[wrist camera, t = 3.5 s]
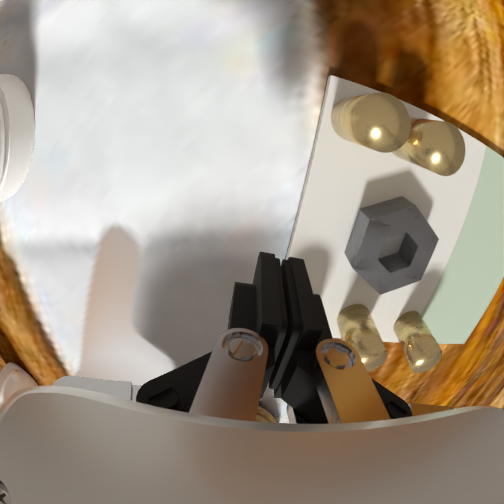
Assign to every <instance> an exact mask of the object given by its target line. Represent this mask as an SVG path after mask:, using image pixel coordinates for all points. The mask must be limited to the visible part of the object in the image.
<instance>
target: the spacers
mask: <svg viewBox="0 0 504 504" xmlns="http://www.w3.org/2000/svg"><path fill="white" fill-rule="evenodd" d="M331 123H332V126H333V129H334V131H335V132H336V133H337V134H338V135H339V136H340V137H341V138H342V139H344V140H346V141H349V142H352V143H355V144H358V145H361V146H364V147H367V148H370V149H373V150H375V151H378V152H383V153H389V152H392V153H393V154H394V155H395V156H397V157H398V158H400V159H403V160H406V161H408V162H411V163H413V164H415V165H418V166H420V167H423V168H425V169H427V170H429V171H432V172H434V173H436V174H438V175H441V176H450V175H453V174H455V173H456V172H457V171H458V170H459V169H460V167H461V166H462V164H463V162H464V158H465V142H464V138H463V136H462V134H461V132H460V131H459V129H458V128H457V127H456V126H455V125H453V124H452V123H449V122H445V121H438V120H430V119H421V118H411V117H410V116H409V113H408V111H407V109H406V107H405V106H404V104H403V103H402V102H401V101H400V100H399V99H398V98H396V97H395V96H393V95H391V94H388V93H384V92H377V93H370V94H364V95H358V96H353V97H348V98H344V99H342V100H340V101H338V102H337V103H336V104H335V106H334V107H333V109H332V112H331ZM337 325H338V329H339V332H340V336H341V339H342V341H345V342H347V343H348V344H350V345H351V346H352V347H354V348H355V349H356V351H357V352H358V354H359V356H360V358H361V359H362V361H363V363H364V365H365V367H366V369H367V371H368V372H371V371H373V370H375V369H377V368H378V367H380V366H381V365H382V364H383V363H384V362H385V360H386V358H387V351H386V349H385V346H384V344H383V341H382V339H381V337H380V334H379V332H378V330H377V327H376V325H375V323H374V321H373V318H372V316H371V314H370V312H369V309H368V308H367V307H366V306H364V305H362V304H353V305H350V306H347V307H346V308H344V309H343V310H342V311H341V312H340V313H339V314H338V317H337ZM393 330H394V332H395V334H396V336H397V338H398V341H399V343H400V345H401V347H402V349H403V351H404V353H405V356H406V358H407V360H408V362H409V365H410V367H411V369H412V371H413V372H415V373H421V372H424V371H427V370H429V369H430V368H432V367H433V366H434V365H436V364H437V363H438V361H439V360H440V358H441V356H442V350H441V349H440V347H439V345H438V343H437V342H436V340H435V338H434V336H433V335H432V333H431V331H430V330H429V328H428V326H427V325H426V323H425V321H424V320H423V318H422V316H421V315H420V313H419V312H417V311H408V312H406V313H404V314H402V315H401V316H400V317H399V318H398V319H397V320H396V322H395V323H394V327H393Z"/></svg>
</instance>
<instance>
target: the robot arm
mask: <svg viewBox="0 0 504 504" xmlns="http://www.w3.org/2000/svg"><path fill="white" fill-rule="evenodd" d="M268 382H269V388H270V389H274V398H281V399H282V400H284V401H285V402H286V403H287V414H288V418H289V423H290V424H287V423H268V422H255V421H256V415H257V410H258V405H259V400H260V398H262V397H263V394H264V392H265V389H266V387H267V384H268ZM0 504H504V410H503V409H501V408H496V407H492V406H469V407H462V408H456V409H454V408H452V407H448V406H437V405H426V404H417V403H410V404H409V405H408V404H407V403H406V402H405V401H404V400H403V399H401V398H400V397H398V396H397V395H395V394H394V393H392V392H391V391H389V390H388V389H386V388H385V387H383V386H382V385H380V384H379V383H377V382H376V381H374V380H373V379H372V378H371V377H370V375H369V373H368V371H367V369H366V367H365V365H364V363H363V361H362V359H361V358H360V356H359V354H358V352H357V351H356V349H355V348H354V347H352V346H351V345H350V344H348V343H347V342H345V341H342V340H339V339H333V338H332V334H331V330H330V327H329V323H328V320H327V316H326V313H325V310H324V306H323V303H322V299H321V297H320V295H319V294H313V290H312V287H311V283H310V280H309V276H308V273H307V269H306V266H305V262H304V259H300V258H294V257H289V258H288V260H284V259H283V261H282V264H281V266H280V259H278V258H275V254H270V253H264V252H260V253H259V257H258V262H257V266H256V271H255V275H254V280H253V284H246V283H239V282H235V286H234V291H233V297H232V303H231V309H230V316H229V323H228V330H226V331H224V332H223V333H222V334H220V336H219V337H218V339H217V341H216V344H215V346H214V349H213V351H212V352H210V353H208V354H206V355H204V356H202V357H200V358H198V359H196V360H193V361H191V362H189V363H187V364H185V365H183V366H181V367H179V368H177V369H174V370H172V371H170V372H168V373H166V374H164V375H161V376H159V377H157V378H155V379H153V380H150V381H148V382H147V383H145V384H144V385H142V386H136V385H132V383H131V382H125V381H112V380H103V379H94V378H85V377H78V376H65V377H62V378H60V379H58V380H57V381H56V382H55V383H54V384H53V386H34V387H28V388H24V389H21V390H19V391H17V392H15V393H14V394H12V395H11V396H10V397H9V398H8V399H7V400H6V401H5V402H4V403H3V405H2V406H1V407H0Z"/></svg>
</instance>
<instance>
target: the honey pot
mask: <svg viewBox="0 0 504 504" xmlns="http://www.w3.org/2000/svg"><path fill="white" fill-rule="evenodd" d="M34 144H35V117H34V107H33V103H32V100H31V96H30V92H29V91H28V89H27V87H26V85H25V83H24V82H23V81H22V80H21V79H20V78H18V77H17V76H16V75H11V74H0V202H1V201H3V200H5V199H7V198H9V197H11V196H12V195H13V194H14V193H15V192H17V191H18V190H19V189H20V187H21V185H22V184H23V182H24V180H25V179H26V177H27V173H28V170H29V168H30V165H31V161H32V155H33V150H34Z"/></svg>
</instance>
